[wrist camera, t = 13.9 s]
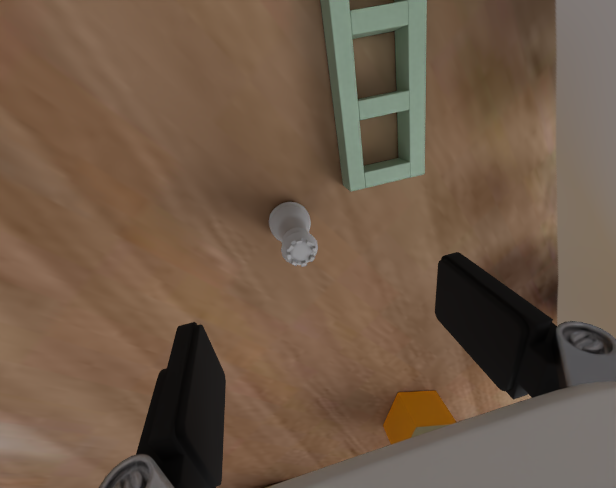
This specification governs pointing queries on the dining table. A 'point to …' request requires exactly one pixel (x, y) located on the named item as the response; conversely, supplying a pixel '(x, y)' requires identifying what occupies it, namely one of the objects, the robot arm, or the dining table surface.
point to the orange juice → (416, 415)
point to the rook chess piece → (293, 233)
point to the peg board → (405, 101)
